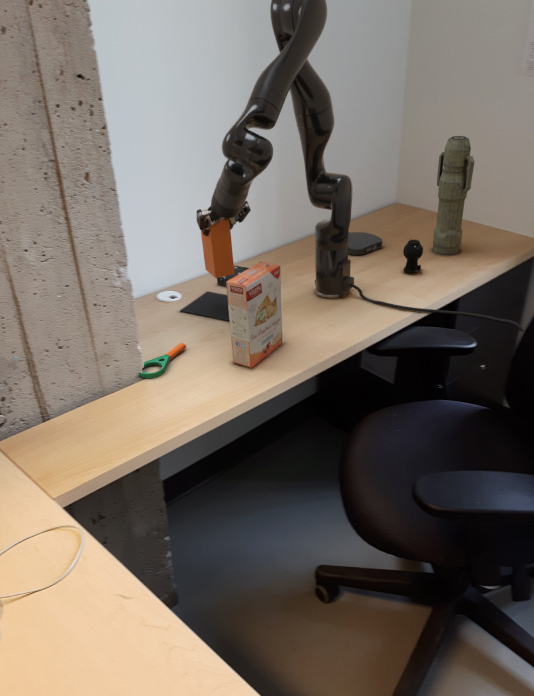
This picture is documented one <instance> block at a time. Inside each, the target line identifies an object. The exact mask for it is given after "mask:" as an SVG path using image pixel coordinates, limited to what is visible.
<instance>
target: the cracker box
mask: <svg viewBox="0 0 534 696" xmlns="http://www.w3.org/2000/svg"><path fill="white" fill-rule="evenodd" d="M248 268H249V269H247V270H246V271H244V272H242V273H240V274H239V275H237V276H235V277H234V278H232V279H230V280H228V281H227V282H226V284H227V286H226V295H227V296H228V308H229V319H230V322H229V330H230V343H231V352H232V353H231V354H232V355H231V356H232V363H234V364H237V365H240V366H244V367H246V368H251V369H252V368H254V367H255V366H256V365H257V364H258V363H260V362H261V361H262V360H263V359H265V358H266V357H267V356H268V355H270V354H271V353H273V352H274V351H275V350H276V349H278V348H279V347H280V346H282V345H283V316H282V315H283V314H282V313H283V312H282V281H281V279H282V278H281V277H282V276H281V265H279V264H276V263H271V262H269V263H268V262H265V261H259V262H258V263H256V264H254V265H253V266H251V267H248Z"/></svg>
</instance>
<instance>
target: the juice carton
mask: <svg viewBox="0 0 534 696" xmlns="http://www.w3.org/2000/svg"><path fill="white" fill-rule="evenodd" d="M207 210H208V208H203V209H202V211H207ZM208 222H209V221H208ZM200 235H201V243H202V251H203V260H204V267H205V271H207V272H208V273H209V274H210V275H211V276H212V277H214V278H215V279H217V278H219V277H223V276H228V275H232V274H234V266H235V265H234V264H235V263H234V255H233V252H234V251H233V243H232V242H233V241H232V233H231V230H230V221H229V220H222V221H220V222H219V223H218V224H217V225H216V226H213V227H212V228H211V230H210V232H209V235H208V236H205V235H203V232H202V230H200Z"/></svg>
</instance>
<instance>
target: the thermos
mask: <svg viewBox="0 0 534 696" xmlns="http://www.w3.org/2000/svg"><path fill="white" fill-rule="evenodd" d="M471 149H472V148H471V141H470V138H469V137H467V136H464V135H454V136H451V137H449V138H448V139H447V141H446V144H445V147H444V151H442V152H441V153H440V155H439V156H438V166H437V175H436V186H437V187H438V190H437V198H438V206H437V215H436V224H435V227H434V230H433V236H432V252H433V253H434V254H436V255H440V256H455V255H458V253H460V248H461V247H460V246H461V244H462V238H463V229H462V223H463V217H464V216H463V215H464V207H465V202H466V198H467V197H468V192H469V191H470V190H471V189H472V181H473V174H474V167H475V160H474V157H473V156H472V155H471Z"/></svg>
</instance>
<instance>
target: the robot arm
mask: <svg viewBox="0 0 534 696" xmlns="http://www.w3.org/2000/svg"><path fill="white" fill-rule="evenodd" d="M269 9H270V11H269V13H270V22H271V27H272V31H273V35H274V39H275V42H276V45H277V48H278V52H279V53H278V54H277V56H276V57H275V58H273V60H272V61H271V62H270V63H269V64H268V65H267V66H266V67H265V69H263V71H261V73H260V75H259V76H258V78H257V79H256V81H255V83H254V86H253V88H252V91H251V93H250V96H249V98H248V100H247V103H246V105H245V108H243V111H242V112H241V114H240V116H239V117H238V119H236V121H235V122H234V123H233V124H232V125H231V127H230V128H229V129H228V131H227V132H226V133H225V135H224V137H223V138H222V143H221V153H222V154H223V157H224V158H225V159H226V161H225V163H224V165H223V168H222V170H221V173H220V176H219V178H218V180H217V182H216V184H215V186H214V187H215V188H214V190H213V194H212V196H211V200H210V206H208V208H207V209H208V210H207V211H203V210H202V209H201V208H199V209H197V210H196V224H197V225H198V228H199V230H200V231H201V230H202V232H203V235H205V236H208V235H209V232H210V230H211V228H212V227H213V226H216V225H217V224H218V223H219V222H220V221H222V220H229V221H230V231H231V230H232V229H233V228H234V226H235V225H236V224H237V223H239V224H240V223H242V222H244V221H245V219H246V218H247V216H248V215H249V213H250V212H251V211H252V209H251V206H250V204H249V202H248V200H247V198H248V196H249V191H250V189H251V186H252V184H253V182H254V180H255V179H256V178H257V177H258V176H259V175H261V174H262V173H263V172H264V171H265V170H266V169H267V168H268V167H269V165H270V163H271V162H272V159H273V157H274V147H273V144H272V142H271V141H270V139H268V138H266V137H265V136H262V135H261V134H258V133H256V132H255V131H252V130H250V129H258V130H262V131H263V130H264V131H270V130H272V129H274V128H275V126H276V124H277V122H278V120H279V117H280V114H281V112H282V109H283V107H284V105H285V101H286V99H287V97H288V94H290V97H291V104H292V110H293V114H294V119H295V123H296V128H297V132H298V136H299V141H300V147H301V151H302V157H303V163H304V171H305V172H304V173H305V182H306V191H307V195H308V199H309V202H310V204H311V205H312V206H313V207H315V208H318V209H322V210H328V211H331V213H330V218H325V219H322V220H320V221H318V222H316V224H315V226H314V244H315V245H314V253H315V255H314V256H315V257H314V261H315V262H314V263H315V268H314V269H315V279H314V285H315V290H314V291H315V292H314V293H315V294H316V295H317V296H318V297H321V298H324V299H343V298H344V297H345V296H347V294H348V293H350V291H351V289H355V291H357V292H358V294H359V296H360V298H361V299H362V300H364V301H365V302H369V303H372V304H374V305H380V306H385V307H389V308H394V309H398V310H403V311H411V312H420V313H430V314H443V315H453V316H464V317H472V318H478V319H482V320H489V321H493V322H497V323H503V324H508V325H512V326H515V328H516V329H518V330H519V332H522V333H523V332H525V330H524V329H523V327H522V326H521V325H520V324H519V323H518V322H517V321H515V320H510V319H504V318H499V317H495V316H490V315H485V314H479V313H473V312H472V313H471V312H465V311H455V310H443V309H442V310H441V309H432V308H421V307H412V306H406V305H399V304H394V303H390V302H387V301H386V302H385V301H381V300H375V299H370V298H368V297H366V296H365V295H364V294H363V291H362V289H361V288H360V287H359V286H357V285H355V277H354V276H351V259H350V258H349V254H348V236H349V231H350V225H351V219H352V205H353V190H354V188H353V187H354V186H353V182H352V178H351V177H350V176H349V175H347V174H343V173H336V172H329V171H328V172H327V170H326V167H325V160H324V159H325V158H324V156H325V155H324V154H325V150H326V148H327V145H328V143H329V141H330V139H331V137H332V134H333V131H334V127H335V114H334V107H333V101H332V96H331V93H330V91H329V89H328V86H327V85H326V83H325V82H324V80H323V79H322V78H321V77H320V75H319V74H318V72H317V71H316V70H315V68H314V67H313V65H312V64H311V62H310V61H309V59H308V58H309V56H310V55H311V53H312V51H313V49H314V48H315V46H316V44H317V43H318V41H319V40H320V38H321V35H322V34H323V32H324V29H325V26H326V24H327V19H328V4H327V0H271V1H270V7H269ZM208 221H209V222H208Z"/></svg>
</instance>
